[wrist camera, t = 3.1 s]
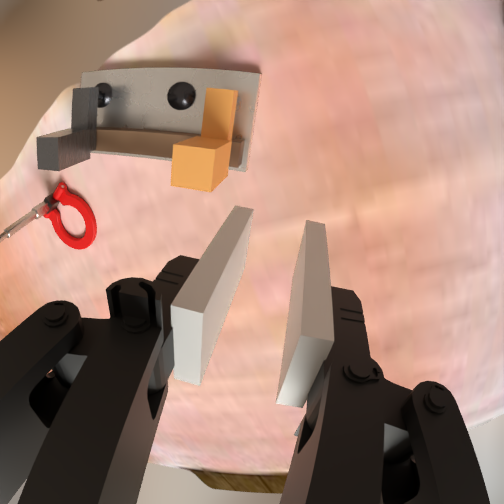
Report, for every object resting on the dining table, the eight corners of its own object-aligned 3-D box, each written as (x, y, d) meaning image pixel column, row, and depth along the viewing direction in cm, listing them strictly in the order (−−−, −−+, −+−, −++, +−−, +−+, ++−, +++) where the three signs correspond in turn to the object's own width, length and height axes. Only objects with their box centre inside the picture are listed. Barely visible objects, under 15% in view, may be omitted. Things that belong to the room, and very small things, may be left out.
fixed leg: (89, 87, 27) (37, 92, 20) (110, 86, 27) (59, 89, 20) (86, 150, 31) (37, 169, 24) (107, 152, 31) (59, 171, 23)
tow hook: (108, 223, 38) (65, 175, 35) (49, 277, 27) (-2, 215, 24) (82, 255, 41) (44, 212, 38) (31, 308, 30) (-13, 255, 27)
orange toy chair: (213, 88, 26) (179, 85, 19) (246, 91, 26) (223, 88, 18) (204, 163, 30) (170, 185, 22) (235, 168, 29) (210, 192, 22)
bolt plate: (87, 72, 28) (71, 72, 25) (261, 74, 26) (256, 71, 23) (84, 149, 33) (68, 155, 30) (247, 169, 31) (241, 176, 28)
